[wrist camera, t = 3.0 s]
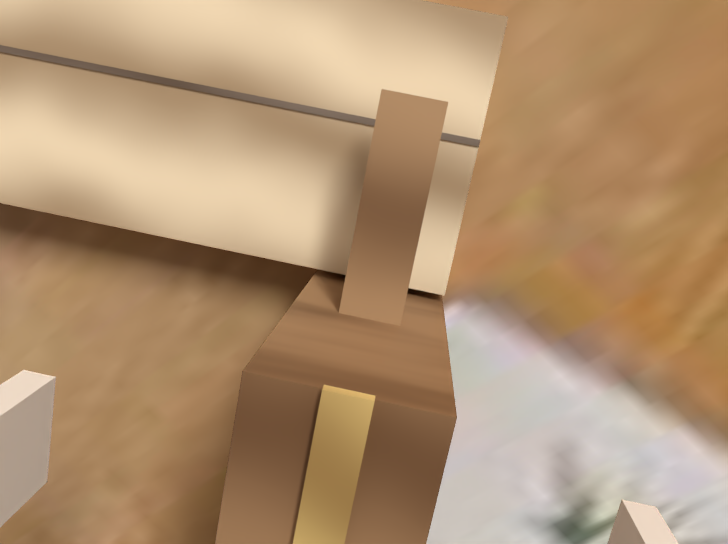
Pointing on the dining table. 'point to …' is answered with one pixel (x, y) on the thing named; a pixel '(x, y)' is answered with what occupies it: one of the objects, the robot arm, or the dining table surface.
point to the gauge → (353, 375)
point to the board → (237, 117)
